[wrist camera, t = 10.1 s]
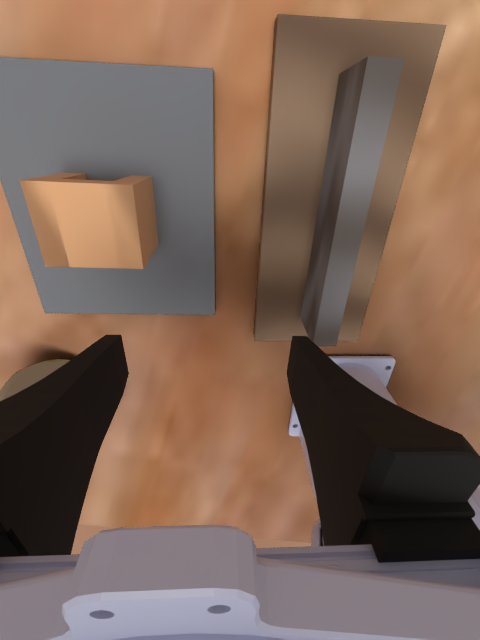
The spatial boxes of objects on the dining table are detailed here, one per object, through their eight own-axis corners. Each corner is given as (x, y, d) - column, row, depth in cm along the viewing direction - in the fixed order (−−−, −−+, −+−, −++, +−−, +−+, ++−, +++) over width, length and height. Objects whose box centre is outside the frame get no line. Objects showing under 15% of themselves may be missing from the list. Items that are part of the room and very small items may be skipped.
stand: (352, 334, 24) (377, 370, 20) (253, 333, 24) (259, 370, 20) (433, 31, 15) (506, -7, 11) (274, 21, 15) (293, -23, 11)
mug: (10, 420, 28) (-93, 477, 18) (79, 337, 29) (16, 347, 19) (78, 466, 29) (15, 544, 19) (143, 384, 29) (116, 417, 20)
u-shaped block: (158, 245, 19) (143, 268, 16) (79, 242, 19) (45, 266, 15) (151, 176, 17) (132, 184, 14) (63, 172, 17) (19, 180, 13)
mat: (215, 310, 22) (214, 314, 22) (49, 309, 22) (44, 313, 21) (213, 71, 15) (212, 68, 15) (-33, 58, 15) (-42, 54, 14)
